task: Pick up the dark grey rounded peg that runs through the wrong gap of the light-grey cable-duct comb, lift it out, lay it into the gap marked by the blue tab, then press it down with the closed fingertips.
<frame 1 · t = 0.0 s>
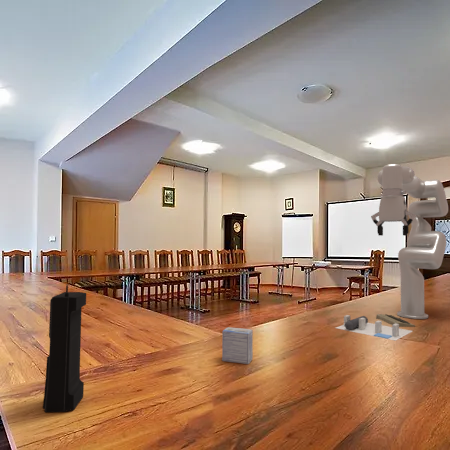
hand: (392, 235, 143), 37 cm above the table, tool pointing down, fingers open, 9 cm apart
computer: (394, 325, 143), on the table
portable radio: (64, 404, 72), on the table
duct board: (373, 332, 131), on the table
medicine box: (237, 361, 98), on the table
dark grey rounded peg: (356, 326, 134), point 1 cm above the table, touching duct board
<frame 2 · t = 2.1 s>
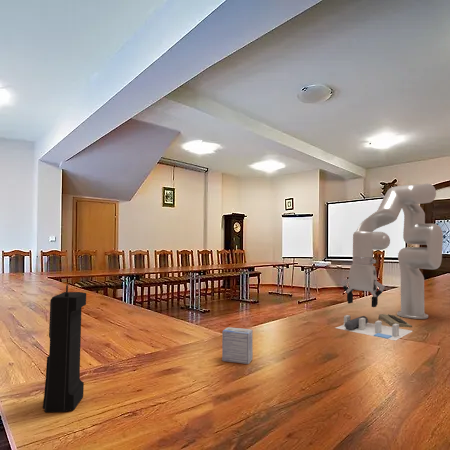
hand: (361, 304, 138), 9 cm above the table, tool pointing down, fingers open, 9 cm apart
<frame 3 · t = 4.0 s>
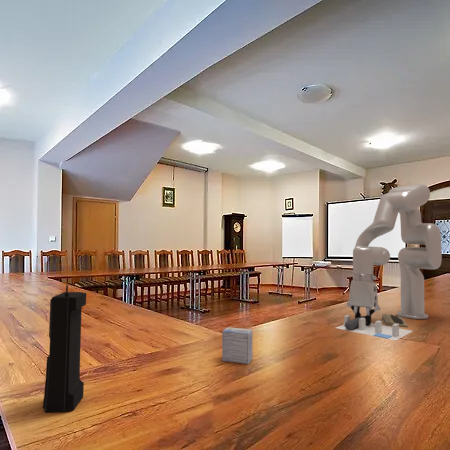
hand: (363, 323, 138), 1 cm above the table, tool pointing down, fingers closed on dark grey rounded peg, 3 cm apart
dark grey rounded peg: (356, 326, 134), point 1 cm above the table, touching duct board, gripper
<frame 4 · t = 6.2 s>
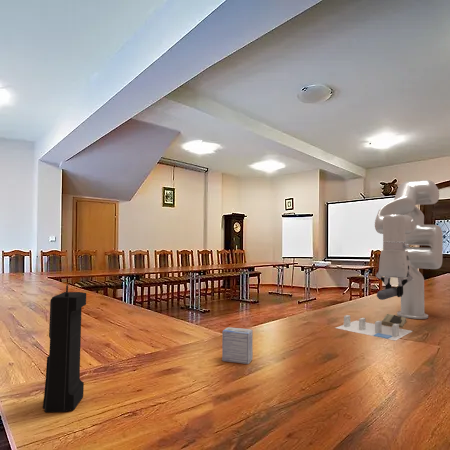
hand: (394, 295, 130), 14 cm above the table, tool pointing down, fingers closed on dark grey rounded peg, 3 cm apart
dark grey rounded peg: (388, 297, 126), point 14 cm above the table, touching gripper
when the fingers open (2 cm above the table, at t = 8.9 s): dark grey rounded peg stays where it is, resting on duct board.
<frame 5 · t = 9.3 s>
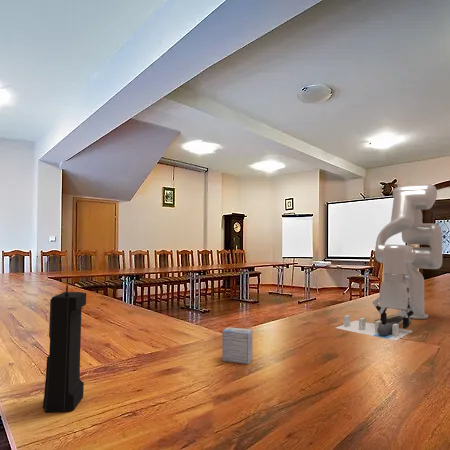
hand: (394, 325, 130), 3 cm above the table, tool pointing down, fingers open, 7 cm apart
dark grey rounded peg: (389, 332, 126), point 1 cm above the table, touching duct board
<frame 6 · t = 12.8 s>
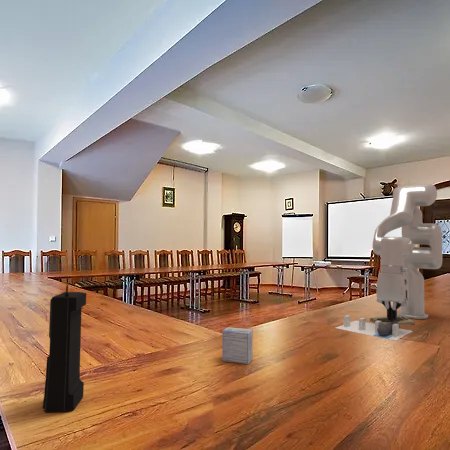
hand: (391, 320, 128), 5 cm above the table, tool pointing down, fingers closed
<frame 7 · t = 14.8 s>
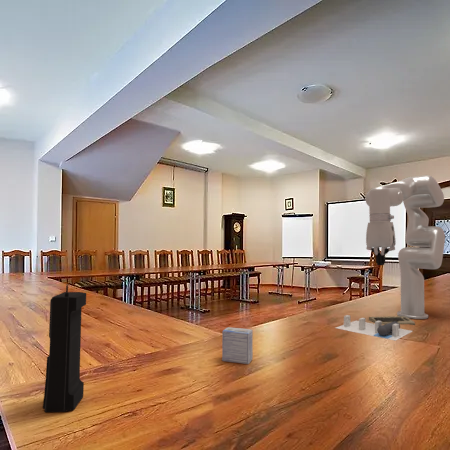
hand: (380, 264, 137), 25 cm above the table, tool pointing down, fingers closed
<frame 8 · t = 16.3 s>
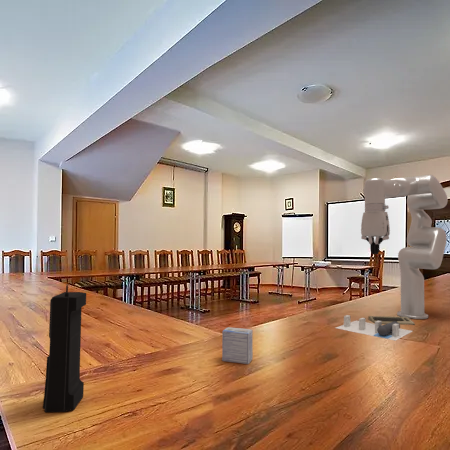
hand: (374, 254, 140), 29 cm above the table, tool pointing down, fingers closed
at the end: dark grey rounded peg inside the target area on the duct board (0.9 cm from its centre), point 1.2 cm above the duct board's base; the gripper is holding nothing; dark grey rounded peg moved 12.0 cm from its start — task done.
